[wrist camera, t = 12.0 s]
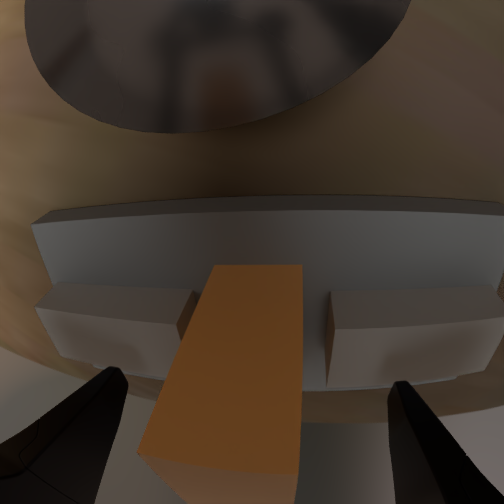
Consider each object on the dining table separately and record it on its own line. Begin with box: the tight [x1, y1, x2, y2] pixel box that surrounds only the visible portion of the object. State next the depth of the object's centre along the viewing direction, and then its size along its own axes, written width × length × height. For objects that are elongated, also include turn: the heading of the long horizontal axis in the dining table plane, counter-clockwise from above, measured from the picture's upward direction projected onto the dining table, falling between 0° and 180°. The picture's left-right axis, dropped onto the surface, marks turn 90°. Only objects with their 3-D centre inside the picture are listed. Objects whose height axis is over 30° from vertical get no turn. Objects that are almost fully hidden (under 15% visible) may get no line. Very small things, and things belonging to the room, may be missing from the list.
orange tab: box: [137, 265, 303, 504], centre depth 9 cm, size 3×5×7 cm, turn 5°
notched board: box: [31, 195, 504, 391], centre depth 11 cm, size 20×9×4 cm, turn 94°
